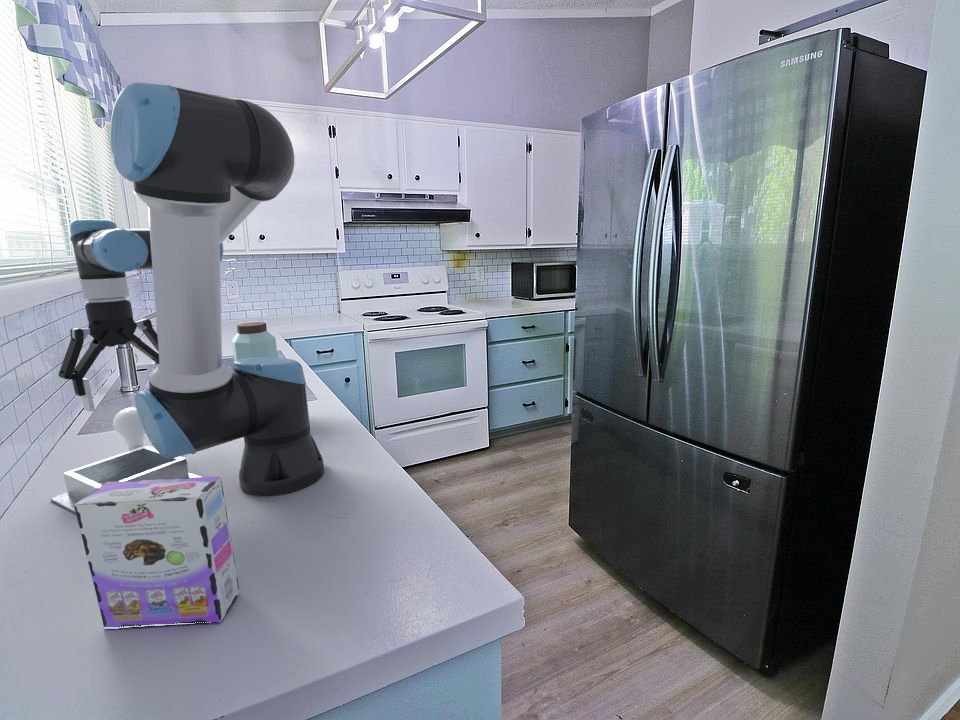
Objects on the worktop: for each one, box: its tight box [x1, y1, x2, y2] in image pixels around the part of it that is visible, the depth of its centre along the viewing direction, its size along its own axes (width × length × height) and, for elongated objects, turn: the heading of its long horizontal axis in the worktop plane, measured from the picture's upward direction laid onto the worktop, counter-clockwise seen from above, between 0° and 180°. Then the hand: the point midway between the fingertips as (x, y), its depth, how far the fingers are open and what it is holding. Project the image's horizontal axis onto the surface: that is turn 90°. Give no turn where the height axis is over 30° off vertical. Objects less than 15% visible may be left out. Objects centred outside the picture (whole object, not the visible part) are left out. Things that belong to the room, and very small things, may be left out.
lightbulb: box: [112, 406, 146, 451], centre depth 109 cm, size 6×6×11 cm
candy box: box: [74, 475, 241, 628], centre depth 61 cm, size 14×6×16 cm, turn 92°
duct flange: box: [50, 445, 201, 515], centre depth 94 cm, size 18×18×5 cm
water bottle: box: [231, 321, 279, 362], centre depth 127 cm, size 10×10×25 cm
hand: (126, 400), depth 107 cm, fingers open, 13 cm apart
